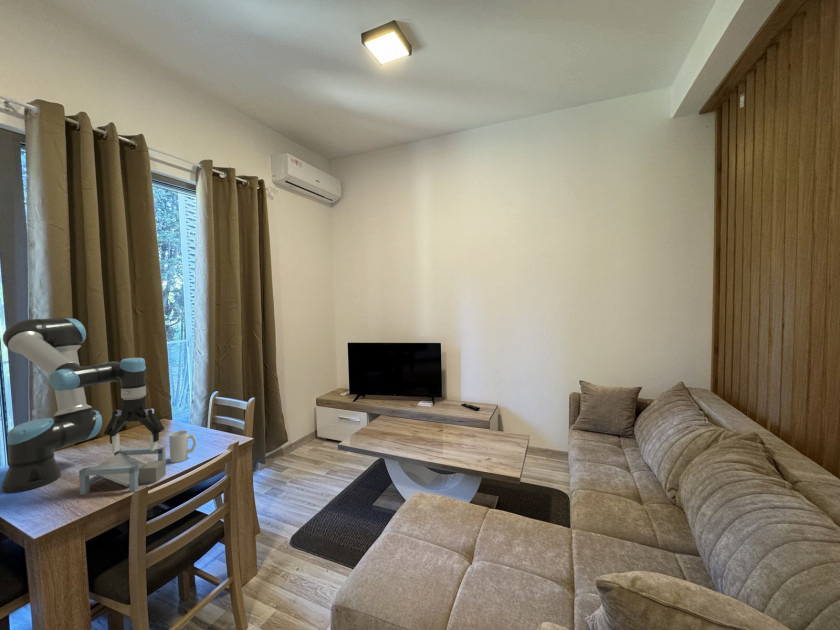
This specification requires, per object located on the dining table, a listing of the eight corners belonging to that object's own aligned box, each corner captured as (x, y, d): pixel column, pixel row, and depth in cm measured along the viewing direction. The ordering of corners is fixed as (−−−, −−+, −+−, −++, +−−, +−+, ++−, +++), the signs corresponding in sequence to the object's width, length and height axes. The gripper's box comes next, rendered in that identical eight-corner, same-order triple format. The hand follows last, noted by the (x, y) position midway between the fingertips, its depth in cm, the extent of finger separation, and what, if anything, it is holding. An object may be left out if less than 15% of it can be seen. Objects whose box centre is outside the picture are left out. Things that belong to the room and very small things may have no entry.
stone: (139, 468, 130) (155, 467, 131) (149, 461, 136) (165, 460, 137) (139, 483, 130) (156, 482, 131) (149, 476, 136) (165, 475, 137)
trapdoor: (90, 471, 125) (91, 468, 125) (118, 454, 138) (120, 452, 138) (127, 486, 126) (128, 484, 126) (151, 468, 140) (152, 466, 140)
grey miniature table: (79, 494, 122) (79, 470, 122) (118, 470, 141) (117, 449, 140) (135, 491, 125) (134, 467, 125) (165, 467, 143) (165, 446, 143)
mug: (167, 464, 146) (166, 436, 146) (172, 457, 153) (172, 431, 152) (193, 460, 150) (193, 434, 149) (198, 454, 156) (198, 428, 156)
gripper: (90, 401, 127) (91, 456, 127) (162, 399, 130) (163, 452, 131) (106, 395, 134) (107, 448, 135) (173, 393, 137) (174, 444, 138)
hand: (135, 450), depth 133 cm, fingers open, 13 cm apart
